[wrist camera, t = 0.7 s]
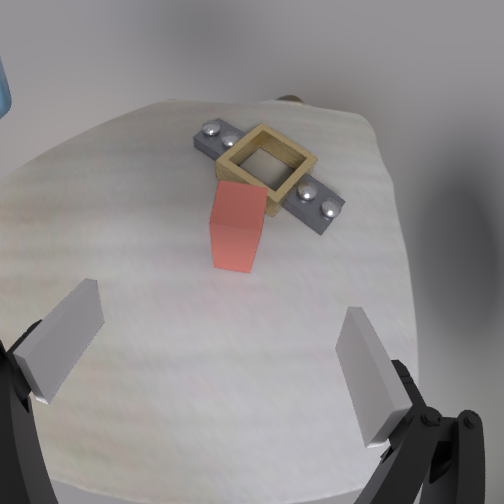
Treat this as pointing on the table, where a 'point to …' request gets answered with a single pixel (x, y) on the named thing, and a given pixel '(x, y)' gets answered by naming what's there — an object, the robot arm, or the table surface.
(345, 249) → the table surface
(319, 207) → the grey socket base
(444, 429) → the robot arm
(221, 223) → the link pin
